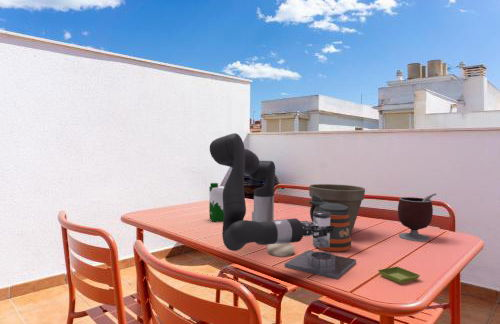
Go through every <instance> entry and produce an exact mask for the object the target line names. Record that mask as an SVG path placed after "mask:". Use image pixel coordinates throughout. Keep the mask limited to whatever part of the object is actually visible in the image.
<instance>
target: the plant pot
mask: <svg viewBox="0 0 500 324" xmlns="http://www.w3.org/2000/svg"><path fill="white" fill-rule="evenodd" d="M308 190H309V191H308V194H309V197H311V199H312V198H313V195H314V194H316V195H318V196H320V197H321V198H322V199H323V202H328V203H337V204H342V205H345V206H347V207H349V210H348V213H349V221H350V225H349V228H350V236H351V234H352V233H353V230H354V227H355V224H356V220H357V217H358V214H359V211H360V208H361V205H362V202H363V200H365V194H366V193H365V192H366V188H365V187H362V186H357V185H349V184H334V183H332V184H331V183H330V184H329V183H323V184H321V183H319V184H316V183H315V184H310V185H309V187H308ZM318 210H319V207H318V206H316V207H315V209H314V212H316V211H318Z"/></svg>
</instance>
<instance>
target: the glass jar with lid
mask: <svg viewBox="0 0 500 324" xmlns="http://www.w3.org/2000/svg"><path fill="white" fill-rule="evenodd" d="M330 217H331V213H329V212H324V211H316V212H313V225H318V226H330ZM314 229H316V227H314ZM312 246H313V247H316V248H317V247H320V248H327V247H329V246H330V233H327V236H324V237H319V238H313V237H312Z"/></svg>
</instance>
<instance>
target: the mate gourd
mask: <svg viewBox="0 0 500 324" xmlns="http://www.w3.org/2000/svg"><path fill="white" fill-rule="evenodd" d="M434 196H437V193H436V192H435V193H432V194H430V195H427V196H425V197H414V196H413V197H411V196H405V197H404V196H403V197H399V200H398V204H397V215H398V216H397V217H398V221H399V222H400V223H401V225H402V226H404V227H406V228H408V229H409V230H410V231H409V232H401V233H399V234H398V237H399V239H403V240H406V241H410V242H411V241H412V242H421V241H422V242H428V241H427V240H429V239H431V237H429V236H428V235H426V234H422V233H419V230H422V229H425V228H427V227H428V226H430V224H432V219H433V215H434V214H433V213H434V212H433V211H434V207H433V202H432V197H434ZM429 241H430V240H429Z"/></svg>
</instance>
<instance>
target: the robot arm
mask: <svg viewBox="0 0 500 324" xmlns="http://www.w3.org/2000/svg"><path fill="white" fill-rule="evenodd" d="M209 154H210V156H211V159H213V160H214V161H215V162H216V163H217V164H218V165H221V166H226V167H230V168H231V171H230V174H229V176H228V178H227V179H226V182H225V184H224V189H223V209H224V219H223V221H222V222H223V223H222V231H221V232H222V236H221V237H222V241H223V244H224V246H225V248H226V249H228V250H229V251H231V252H237V251H240V250H241V249H242V248H243V247H245V246H246V245H247V244H250V243H255V244H257V245H259V246H267V245H268V244H284V243H290V244H292V243H298V242H300V241H302V239H303V237H306V238H308V237H312V239H313V238H319V237H324V236H327V233H333V232H334V226H318V225H313V222H312V221H308V220H303V221H302V220H301V221H300V219H298V218H296V217H295V218H284V219H275V218H274V216H275V212H274V211H275V209H274V208H275V182H276V181H275V180H276V179H275V177H276V165H275V162H274V161H272V160H260V159H259V157H258V155H256V153H254V152H253V151H252V150H249V149H247V148H245V144H244V141H243V139H242V136H241V135H240V134H238V133H236V132H235V133H231V134H227V135H224V136H221V137H218V138H216V139H214V140H212V141H211V143H210V144H209ZM245 175H248V176H249V177H250V178H251V179H252V180H255V181H260V182H261V181H262V182H265V184H264V185H262V186H261V187H260V186H259V187H258V188H255V189H254V190H253V211H252V212H251V220H247V219H245V217H246V214H247V206H246V197H245V184H244V183H245ZM314 227H316V229H314Z"/></svg>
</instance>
